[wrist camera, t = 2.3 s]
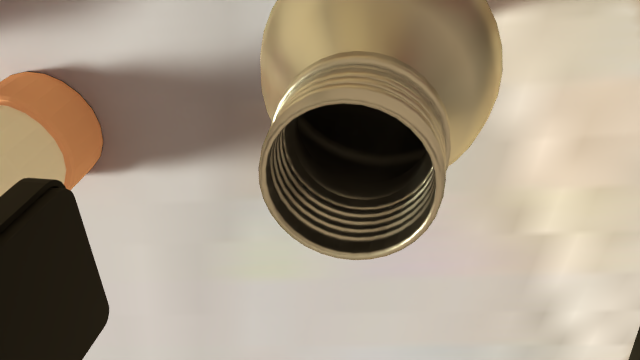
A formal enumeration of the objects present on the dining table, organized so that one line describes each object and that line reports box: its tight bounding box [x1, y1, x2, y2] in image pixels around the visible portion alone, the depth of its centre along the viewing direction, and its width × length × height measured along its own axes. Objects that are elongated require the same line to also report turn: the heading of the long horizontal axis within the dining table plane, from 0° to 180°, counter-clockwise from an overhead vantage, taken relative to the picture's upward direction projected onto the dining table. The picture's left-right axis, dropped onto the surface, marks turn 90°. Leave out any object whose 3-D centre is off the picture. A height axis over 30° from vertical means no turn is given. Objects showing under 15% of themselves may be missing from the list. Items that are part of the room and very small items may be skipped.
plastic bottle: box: [259, 0, 503, 260], centre depth 19 cm, size 6×7×20 cm
